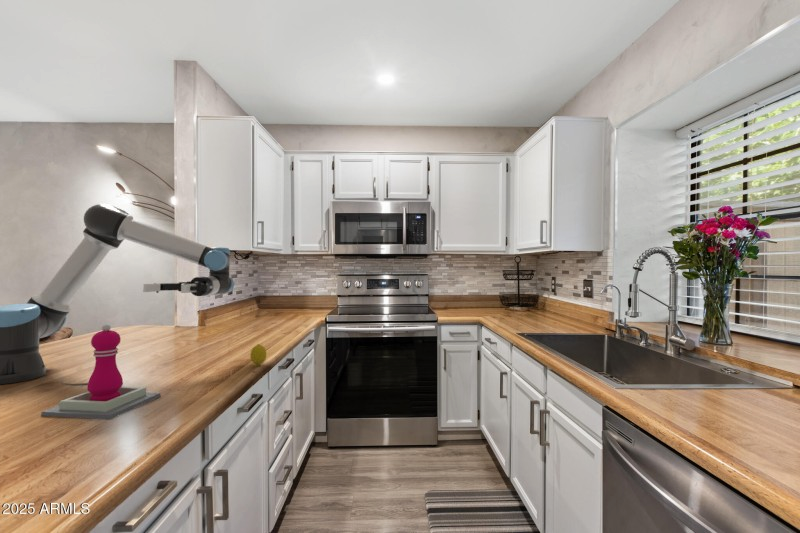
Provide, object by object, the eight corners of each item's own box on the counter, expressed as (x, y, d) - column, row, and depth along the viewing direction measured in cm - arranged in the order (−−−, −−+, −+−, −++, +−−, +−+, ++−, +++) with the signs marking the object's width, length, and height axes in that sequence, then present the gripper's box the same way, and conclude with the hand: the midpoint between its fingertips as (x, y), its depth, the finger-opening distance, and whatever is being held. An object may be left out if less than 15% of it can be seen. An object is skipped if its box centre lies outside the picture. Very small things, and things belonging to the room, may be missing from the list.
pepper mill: (129, 397, 99) (130, 322, 99) (105, 407, 92) (106, 326, 92) (105, 396, 100) (106, 322, 100) (79, 406, 92) (80, 326, 93)
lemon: (262, 367, 134) (263, 345, 134) (247, 367, 134) (248, 345, 134) (268, 364, 139) (268, 342, 139) (254, 363, 139) (254, 342, 139)
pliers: (89, 374, 123) (139, 378, 118) (89, 376, 123) (138, 380, 118) (56, 382, 113) (109, 387, 109) (56, 385, 113) (109, 390, 109)
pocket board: (41, 415, 89) (41, 403, 89) (101, 393, 104) (101, 383, 104) (109, 419, 87) (110, 406, 87) (160, 396, 103) (160, 385, 103)
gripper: (234, 296, 142) (197, 300, 120) (174, 295, 144) (128, 298, 123) (234, 277, 142) (198, 277, 121) (174, 275, 144) (129, 276, 123)
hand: (163, 288), depth 122 cm, fingers open, 13 cm apart
